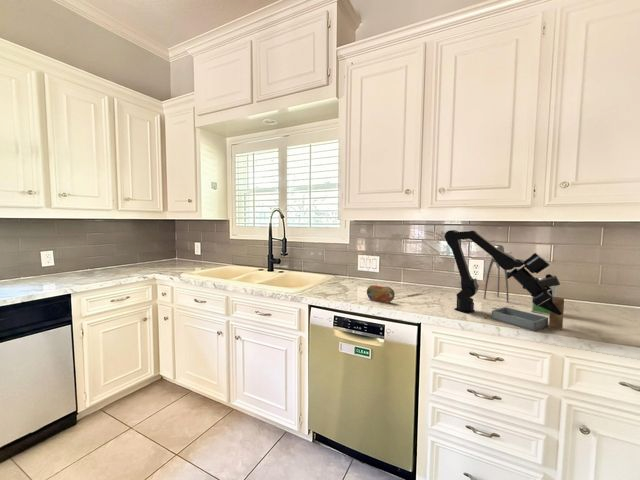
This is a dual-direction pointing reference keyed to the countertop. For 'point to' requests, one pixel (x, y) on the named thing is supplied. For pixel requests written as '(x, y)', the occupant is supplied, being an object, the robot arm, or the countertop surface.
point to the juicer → (498, 274)
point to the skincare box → (540, 309)
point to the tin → (380, 293)
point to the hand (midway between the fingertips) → (560, 311)
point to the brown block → (555, 319)
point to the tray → (520, 318)
